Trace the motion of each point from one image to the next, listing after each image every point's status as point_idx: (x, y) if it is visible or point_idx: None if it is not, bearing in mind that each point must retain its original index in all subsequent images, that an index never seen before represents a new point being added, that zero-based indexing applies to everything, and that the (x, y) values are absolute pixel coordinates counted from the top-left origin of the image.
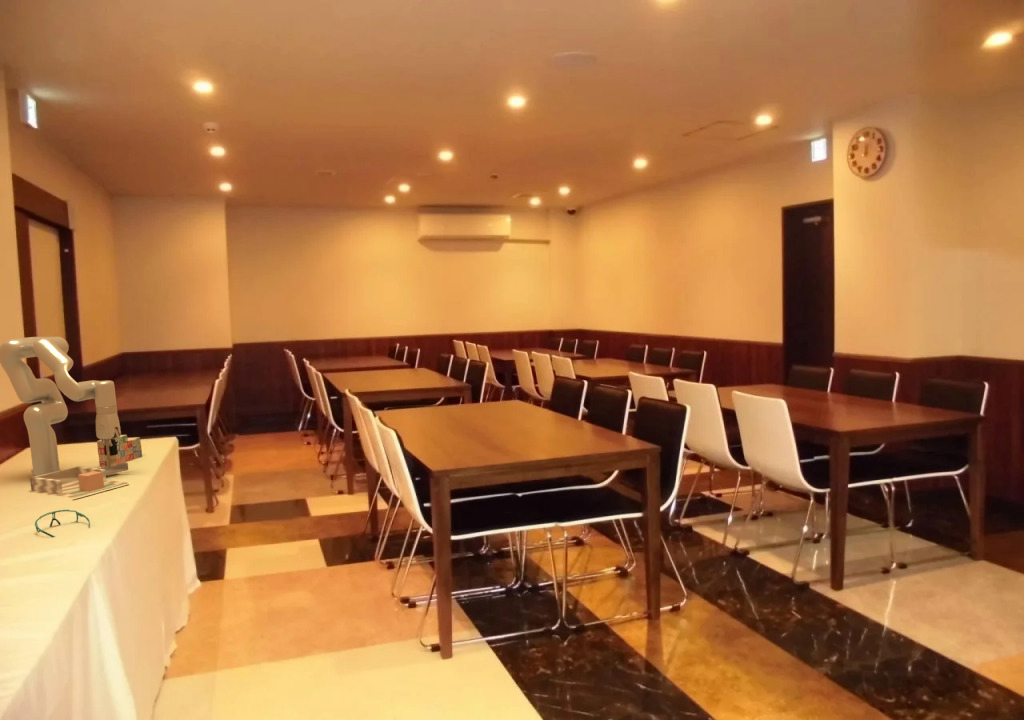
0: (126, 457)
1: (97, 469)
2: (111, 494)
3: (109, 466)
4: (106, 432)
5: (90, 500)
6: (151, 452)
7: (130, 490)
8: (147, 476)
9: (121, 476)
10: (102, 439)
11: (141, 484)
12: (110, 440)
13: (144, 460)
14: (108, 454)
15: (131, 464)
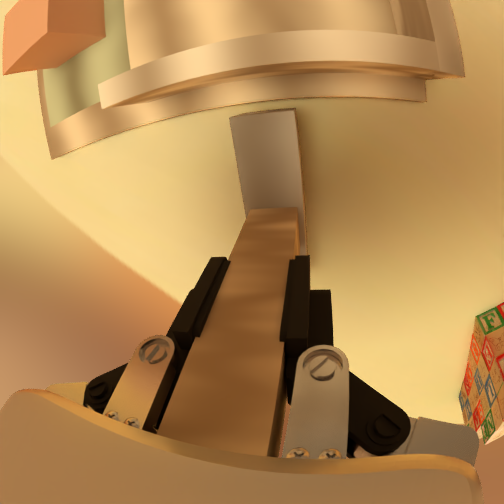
0: (471, 376)
1: (143, 69)
2: (14, 80)
3: (269, 206)
4: (11, 491)
5: None
6: (457, 412)
7: (12, 134)
8: (141, 267)
9: None
10: (384, 441)
11: (45, 187)
12: (117, 402)
13: (420, 389)
14: (256, 265)
15: (429, 358)
